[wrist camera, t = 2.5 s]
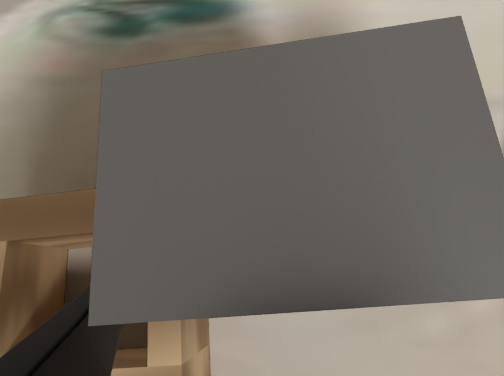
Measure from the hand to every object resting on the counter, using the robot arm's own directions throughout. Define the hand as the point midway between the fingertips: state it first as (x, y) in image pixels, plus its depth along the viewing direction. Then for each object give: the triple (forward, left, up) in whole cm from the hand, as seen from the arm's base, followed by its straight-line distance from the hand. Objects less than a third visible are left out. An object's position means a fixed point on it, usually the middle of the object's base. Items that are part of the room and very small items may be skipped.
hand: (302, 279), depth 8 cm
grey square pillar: (+1, 0, -9) cm, 9 cm away
